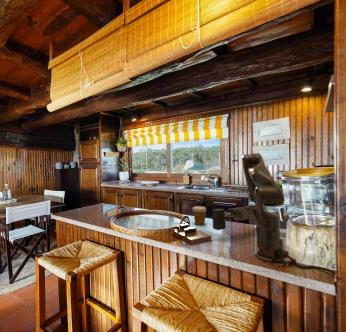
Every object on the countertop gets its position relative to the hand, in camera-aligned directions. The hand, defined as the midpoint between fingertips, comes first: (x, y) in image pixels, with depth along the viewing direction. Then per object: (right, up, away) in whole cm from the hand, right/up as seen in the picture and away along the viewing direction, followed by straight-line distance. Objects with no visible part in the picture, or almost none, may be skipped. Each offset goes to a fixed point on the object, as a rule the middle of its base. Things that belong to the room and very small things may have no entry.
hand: (215, 218), depth 120 cm
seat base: (-12, -13, +7) cm, 19 cm away
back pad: (+3, -6, +1) cm, 7 cm away
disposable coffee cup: (+3, -12, +32) cm, 35 cm away
